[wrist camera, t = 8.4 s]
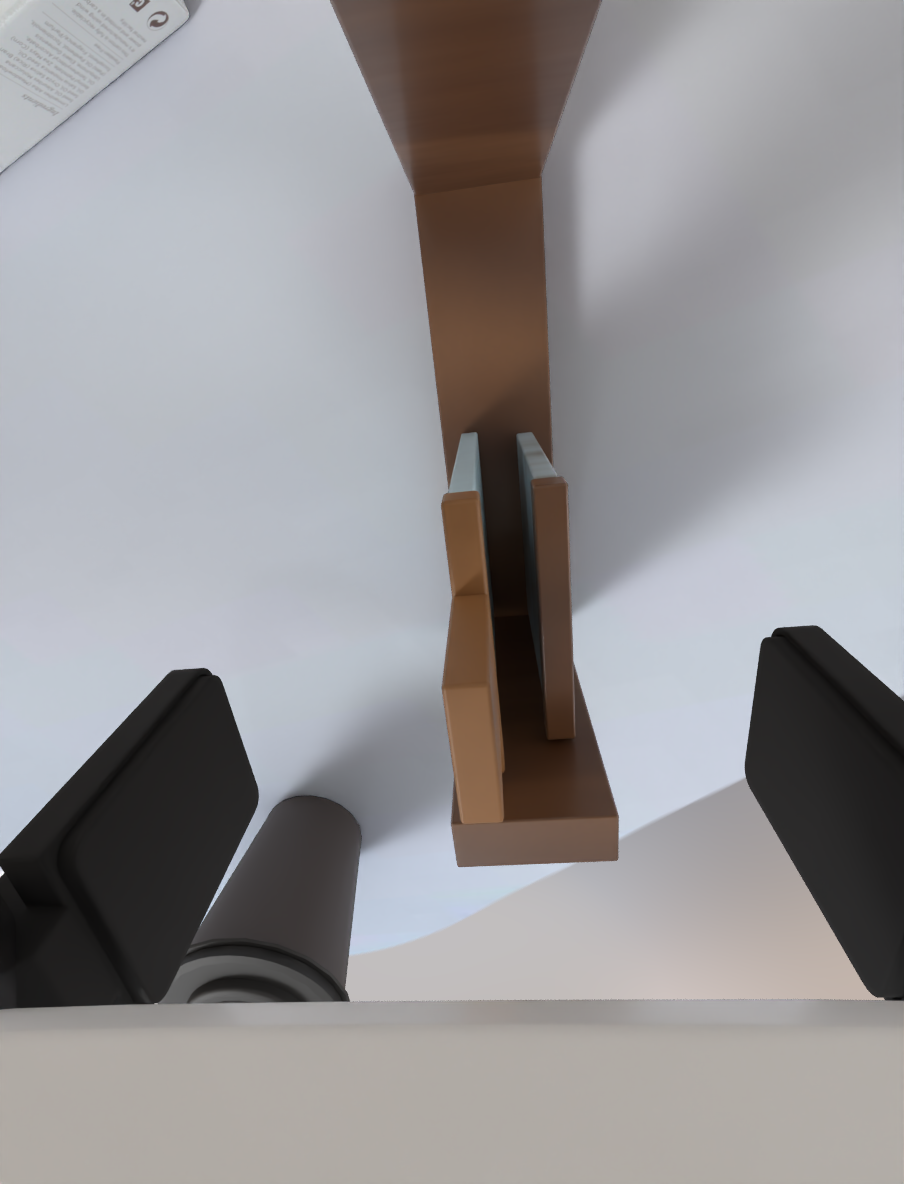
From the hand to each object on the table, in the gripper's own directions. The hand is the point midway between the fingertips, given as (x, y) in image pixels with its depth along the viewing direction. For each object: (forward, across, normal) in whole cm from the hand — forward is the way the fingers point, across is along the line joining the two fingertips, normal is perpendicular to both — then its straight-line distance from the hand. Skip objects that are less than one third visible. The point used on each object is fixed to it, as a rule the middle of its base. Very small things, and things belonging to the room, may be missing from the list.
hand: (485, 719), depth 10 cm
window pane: (+13, 0, +1) cm, 13 cm away
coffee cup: (+14, +11, +18) cm, 25 cm away
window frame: (+14, -1, -3) cm, 15 cm away
